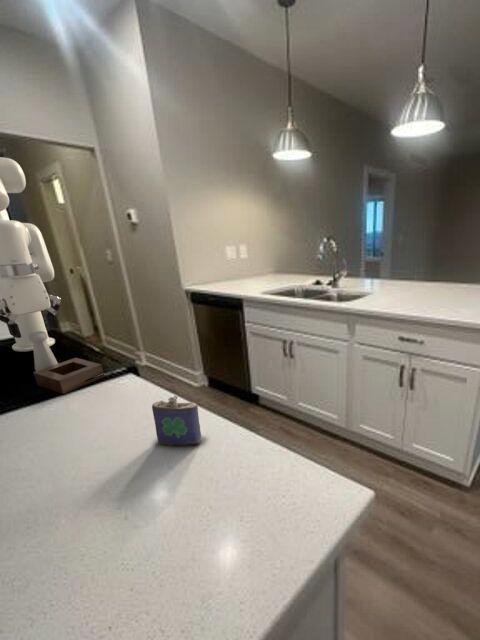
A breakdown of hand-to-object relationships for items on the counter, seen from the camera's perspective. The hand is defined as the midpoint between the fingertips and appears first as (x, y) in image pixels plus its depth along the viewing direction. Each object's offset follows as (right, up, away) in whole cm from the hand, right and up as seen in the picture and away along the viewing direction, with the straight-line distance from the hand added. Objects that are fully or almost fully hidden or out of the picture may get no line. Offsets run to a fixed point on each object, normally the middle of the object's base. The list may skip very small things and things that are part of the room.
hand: (36, 332), depth 98 cm
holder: (+10, -14, +1) cm, 17 cm away
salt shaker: (0, -12, +5) cm, 13 cm away
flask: (+50, -25, -26) cm, 62 cm away
